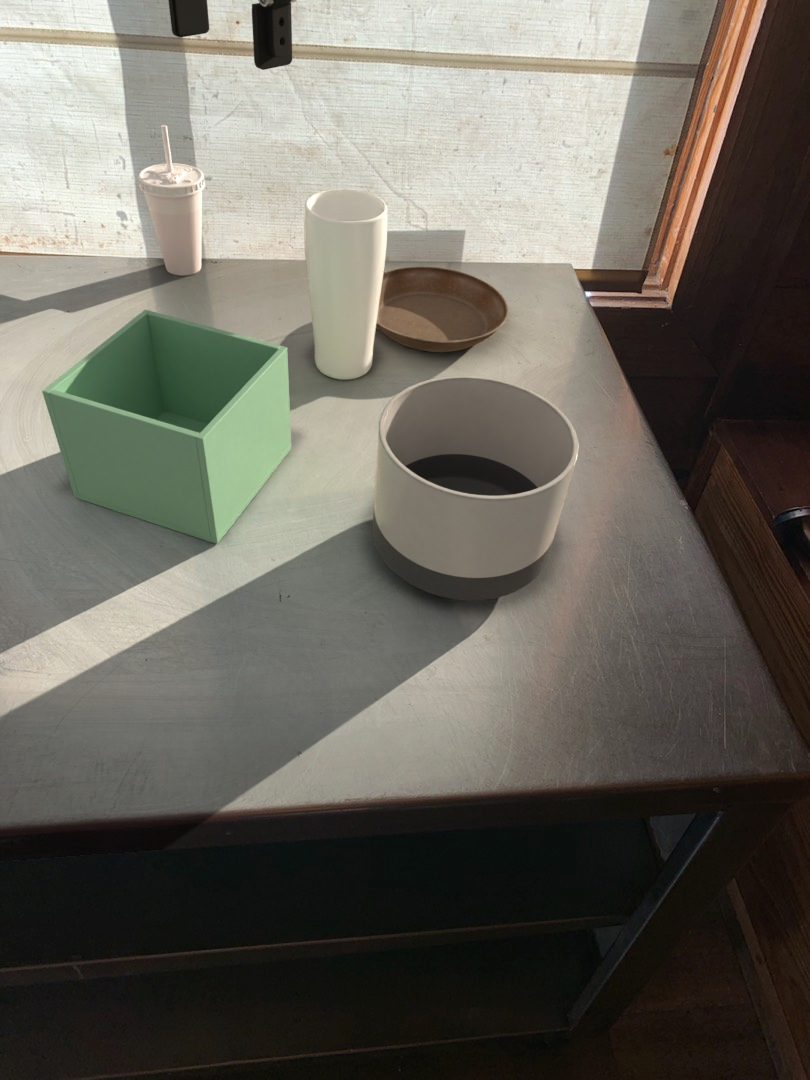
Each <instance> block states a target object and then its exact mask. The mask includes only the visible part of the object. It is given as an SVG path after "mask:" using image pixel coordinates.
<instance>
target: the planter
mask: <svg viewBox="0 0 810 1080" xmlns="http://www.w3.org/2000/svg"><path fill="white" fill-rule="evenodd" d="M377 434H378V435H377V447H376V448H377V449H376V450H377V451H376V466H375V467H376V468H375V484H374V485H375V486H374V500H373V503H374V504H373V520H372V536H373V541H374V544H375V547H376V550H377V552H378V554H379V556H380V557H381V559H382V560H383V562H384V563H385V564H386V565H387V567H388V568H389V569H390V570H391V571H392V572H394V573H395V575H397V576H398V577H400V578H401V579H402V580H403V581H405V582H406V583H408V584H410V585H411V586H413V587H415V588H417V589H419V590H421V591H423V592H426V593H428V594H431V595H434V596H438V597H442V598H446V599H451V600H460V601H485V600H492V599H496V598H501V597H505V596H507V595H511V594H514V593H515V592H518V591H519V590H521V589H523V588H524V587H526V586H528V585H529V584H530V583H532V582H533V581H534V580H535V579H536V578H537V577H538V576H539V574H540V573H541V572H542V571H543V569H545V566H546V564H547V562H548V560H549V556H550V554H551V550H552V547H553V542H554V541H555V540H554V539H555V536H556V533H557V529H558V526H559V523H560V519H561V515H562V512H563V508H564V504H565V502H566V499H567V494H568V491H569V487H570V484H571V480H572V476H573V473H574V470H575V466H576V464H577V459H578V455H579V439H578V436H577V433H576V429H575V428H574V426H573V425H572V422H571V421H570V420H569V419H568V417H567V416H566V415H565V414H564V413H563V411H561V410H560V408H558V407H557V406H556V405H555V404H554V403H553V402H551V401H550V400H548V399H547V398H545V397H543V396H542V395H540V394H538V393H537V392H534V391H533V390H530V389H528V388H527V387H524V386H522V385H519V384H516V383H514V382H513V383H512V382H510V381H507V380H502V379H497V378H493V377H487V376H479V375H447V376H441V377H435V378H431V379H427V380H422V381H420V382H418V383H414V384H413V385H410V386H408V387H406V388H404V389H403V390H402V391H400V392H398V393H397V394H396V395H394V397H392V398H391V399H390V400H389V401H388V403H387V404H386V405H385V406H384V408H383V410H382V412H381V414H380V417H379V421H378V433H377Z"/></svg>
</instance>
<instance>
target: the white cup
mask: <svg viewBox="0 0 810 1080" xmlns="http://www.w3.org/2000/svg"><path fill="white" fill-rule="evenodd" d="M303 223H304V224H303V239H304V240H303V243H304V258H305V269H306V278H307V287H308V295H309V305H310V313H311V314H310V315H311V324H312V333H313V345H314V347H313V348H314V364H315V365H316V368H317V369H318V371H319V372H320V373H321V374H323V375H325V377H326V376H327V377H328V378H331V379H334V380H339V381H343V380H344V381H347V380H354V379H358V378H361V377H363V376H365V375H366V374H367V373H369V371H370V370H371V368H372V366H373V360H374V347H375V346H374V344H375V337H376V329H377V327H376V323H377V316H378V309H379V301H380V295H381V288H382V281H383V274H384V272H385V265H386V258H387V257H386V256H387V248H388V247H387V246H388V245H387V244H388V206H387V204H386V203H385V201H384V200H383V199H381V198H380V197H378V196H377V195H374V194H372V193H369V192H367V191H366V192H365V191H363V190H356V189H347V188H336V189H327V190H322V191H319V192H315V193H314V194H312V195H311V196H309V197H308V198H307V199H306V201H305V203H304V219H303Z"/></svg>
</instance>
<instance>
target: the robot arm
mask: <svg viewBox="0 0 810 1080" xmlns="http://www.w3.org/2000/svg"><path fill="white" fill-rule="evenodd" d="M167 1H168V9H169V18H170V27H171V32H172V35H173V36H175V37H177V38H185V37H192V36H198V35H204V34H207V33H208V32H209V31H210V20H209V19H210V18H209V9H208V8H209V7H208V0H167ZM257 1H258V2H257V3H252V4H251V24H252V25H251V26H252V27H251V28H252V43H253V44H252V45H253V46H252V47H253V61H254V66H255V67H256V68H257V69H259V70H263V71H264V70H265V71H266V70H271V69H274V68H280V67H285V66H288V65H291V63H292V62H293V30H292V29H293V27H292V26H293V25H292V24H293V22H292V4H293V3H296V2H297V0H257Z"/></svg>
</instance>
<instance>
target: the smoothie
mask: <svg viewBox="0 0 810 1080" xmlns="http://www.w3.org/2000/svg"><path fill="white" fill-rule="evenodd" d="M160 130H161V136H162V142H163V151H164V157H165V163H158V164H153V165H149V166H147V167H145V168H143V169H142V170H141V171H140V172H139V173H138V176H137V177H138V187H139V189H140V190H141V191H142V192H143V193H144V196H145V201H146V204H147V207H148V210H149V214H150V218H151V221H152V226H153V228H154V231H155V235H156V239H157V241H158V245H159V249H160V252H161V255H162V259H163V263H164V266H165V269H166V271H167V272H168V273H169V274H170V275H171V274H172V275H174V276H182V277H183V276H191V275H194V274H198V273H199V272H200V271H201V269H202V246H203V245H202V244H203V242H202V239H203V238H202V237H203V235H202V234H203V233H202V229H203V190H204V188H205V187H206V181H205V175H204V172H203V171H202V170H200V169H199V168H198V167H195V166H193V165H190V164H184V163H176V162H173V161H172V153H171V146H170V139H169V131H168V126H167V124H161V125H160Z"/></svg>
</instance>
